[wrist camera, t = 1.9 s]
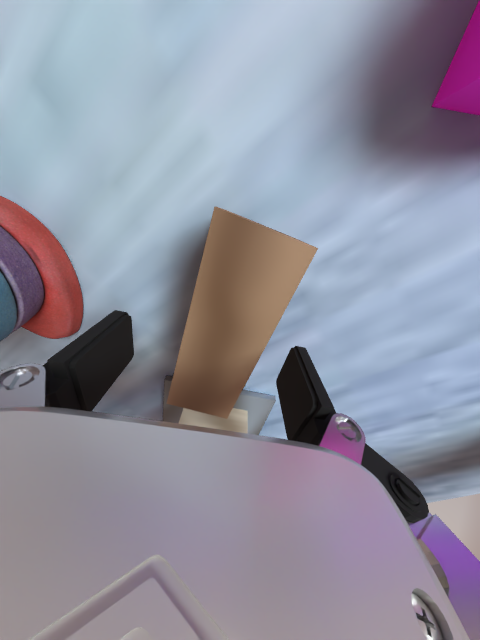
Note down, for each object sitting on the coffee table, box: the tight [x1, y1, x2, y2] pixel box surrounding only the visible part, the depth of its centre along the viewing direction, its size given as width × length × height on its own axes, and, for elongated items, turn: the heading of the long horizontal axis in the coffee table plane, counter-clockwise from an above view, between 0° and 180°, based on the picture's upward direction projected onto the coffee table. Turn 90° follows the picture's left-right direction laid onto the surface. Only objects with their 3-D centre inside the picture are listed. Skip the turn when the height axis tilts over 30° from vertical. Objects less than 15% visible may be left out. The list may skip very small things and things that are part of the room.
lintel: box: [166, 207, 318, 419], centre depth 14 cm, size 5×14×5 cm, turn 160°
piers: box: [163, 376, 276, 435], centre depth 22 cm, size 12×20×7 cm, turn 167°
